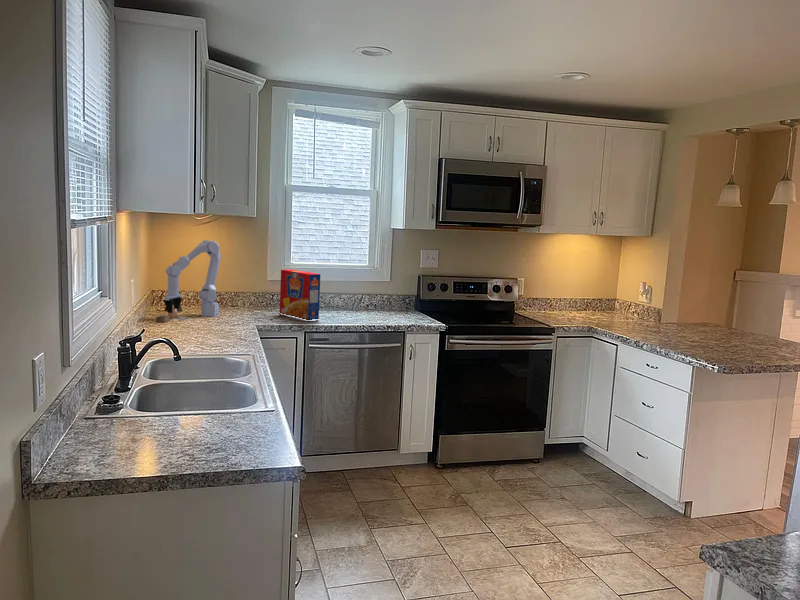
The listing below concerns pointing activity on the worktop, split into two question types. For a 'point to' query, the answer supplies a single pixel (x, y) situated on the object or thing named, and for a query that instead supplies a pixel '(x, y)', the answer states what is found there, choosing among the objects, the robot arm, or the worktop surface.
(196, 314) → the worktop surface
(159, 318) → the walnut block
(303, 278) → the pasta box
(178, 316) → the letter board
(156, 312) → the worktop surface
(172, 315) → the terracotta cylinder
